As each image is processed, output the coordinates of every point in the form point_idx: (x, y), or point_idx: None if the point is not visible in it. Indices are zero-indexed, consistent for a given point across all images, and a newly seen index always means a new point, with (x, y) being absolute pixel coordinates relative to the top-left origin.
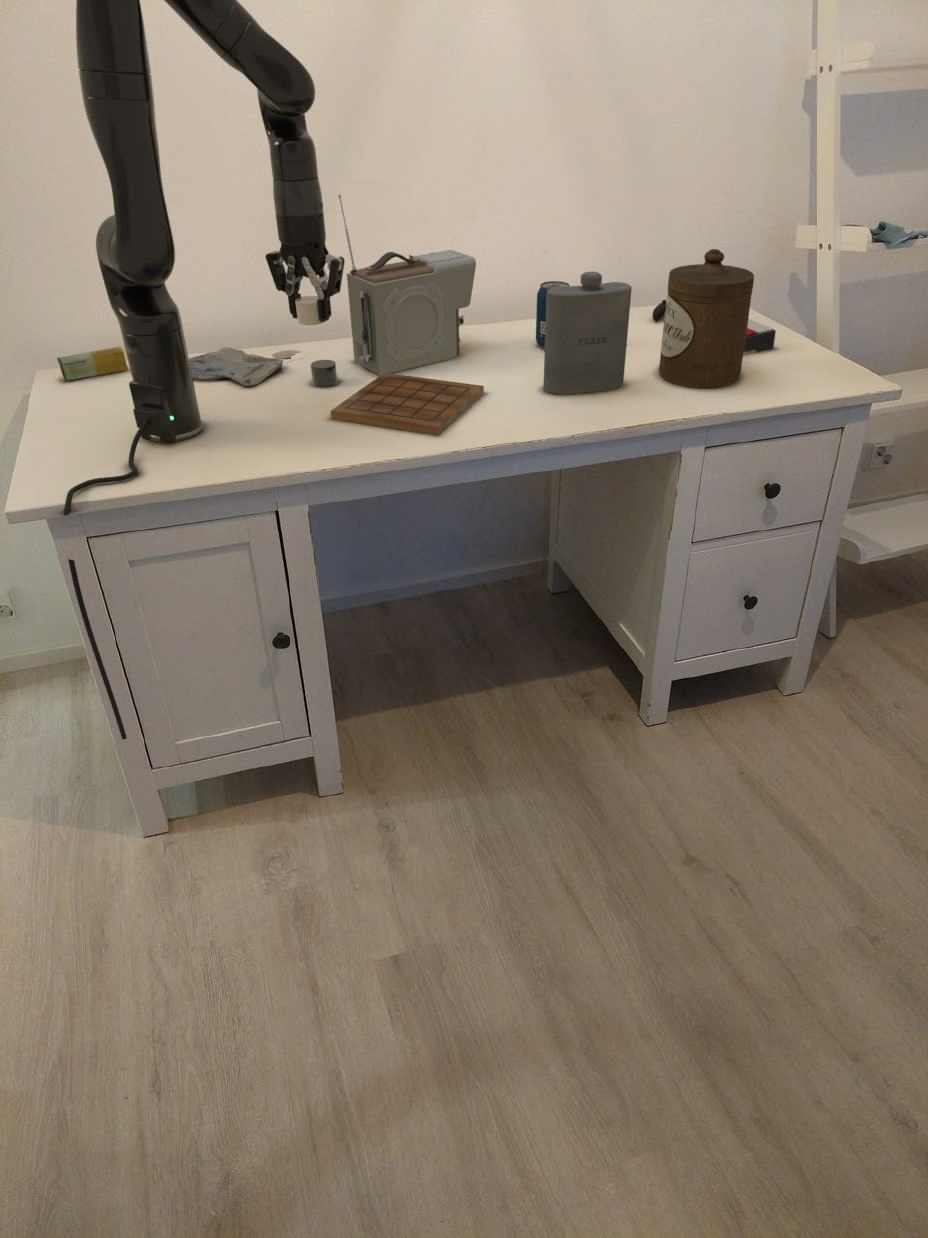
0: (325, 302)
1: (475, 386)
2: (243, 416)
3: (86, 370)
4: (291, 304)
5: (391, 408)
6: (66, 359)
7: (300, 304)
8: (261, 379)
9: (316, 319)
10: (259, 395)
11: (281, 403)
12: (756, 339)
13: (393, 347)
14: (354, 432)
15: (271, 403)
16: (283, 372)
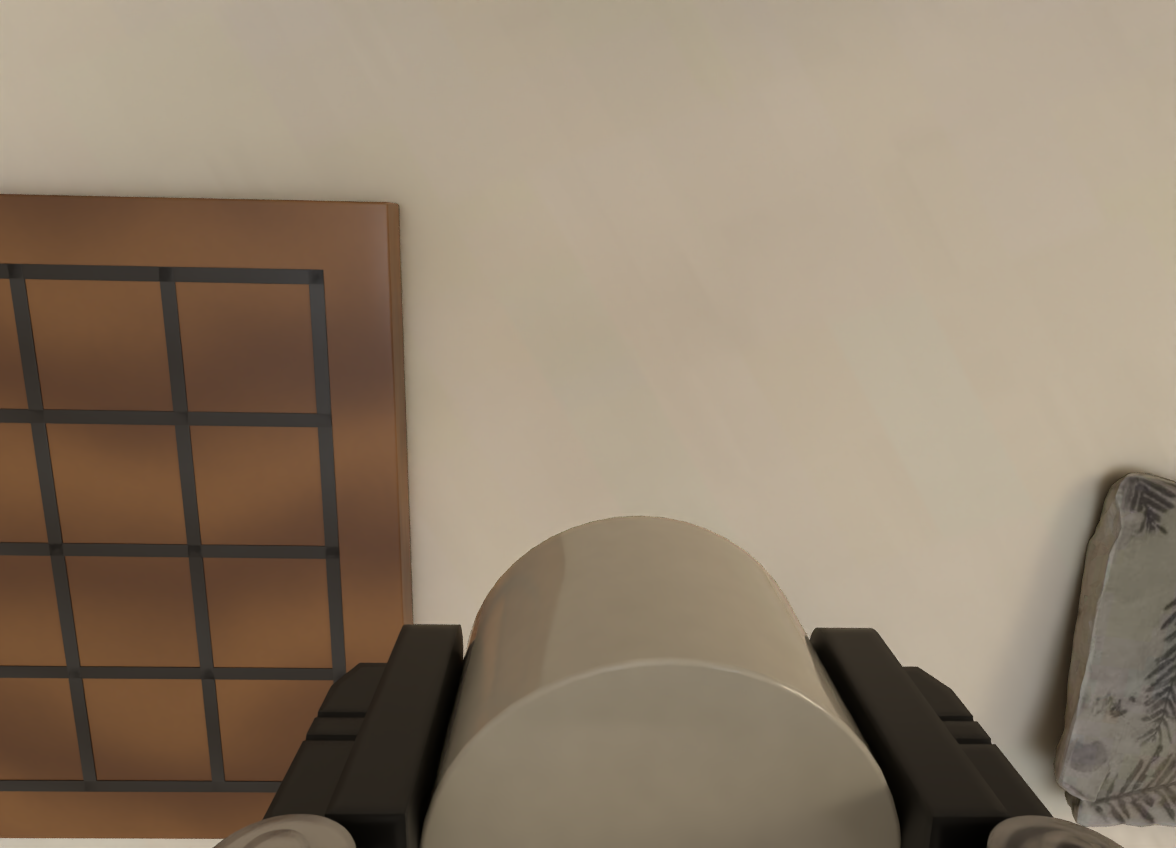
0: (271, 810)
1: None
2: (938, 52)
3: None
4: (936, 724)
5: (54, 362)
6: None
7: (701, 646)
8: (1088, 578)
9: (489, 611)
10: (999, 390)
11: (810, 322)
12: None
13: None
14: (154, 59)
15: (869, 302)
16: (1023, 736)
